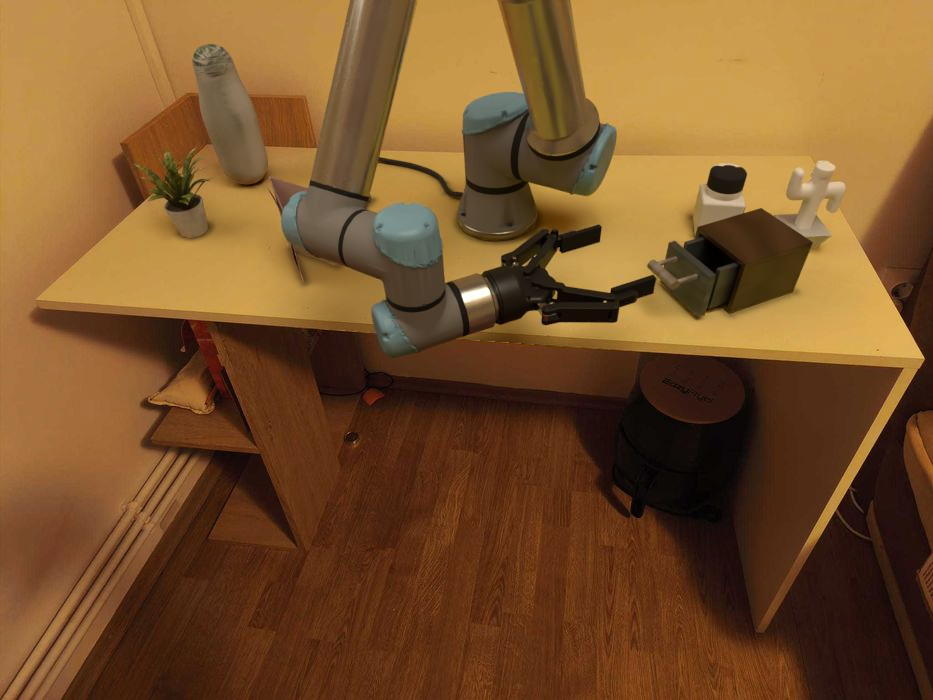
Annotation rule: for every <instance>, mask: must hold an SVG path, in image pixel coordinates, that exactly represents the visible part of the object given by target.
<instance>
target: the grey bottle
mask: <svg viewBox="0 0 933 700" xmlns="http://www.w3.org/2000/svg"><path fill="white" fill-rule="evenodd" d="M192 69H193V71H194V75H195V80H196V84H197V86H196V87H197V91H198V104H199V109H200V114H201V118H202V121H203V124H204V127H205V129H206V132H207V135H208V137H209V140H210V142H211V145H212V148H213V151H214V153H215V156H216V159H217V161H218V164H219V166H220V168H221V170H222V171H223V173H224V174H225V175H226V177H228V178H229V179H230V180H231V181H232V182H234V183H237V184H240V185H253V184H256V183H259V182H260V181H261V180H262V179H263V178H264V177H265V175H266V174H267V170H268V167H269V158H268V152H267V149H266V145H265V142H264V138H263V135H262V131H261V126H260V123H259V119H258V115H257V112H256V108H255V106H254V103H253V101H252V99H251V97H250V95H249V92H248V91H247V89H246V87H245V85H244V83H243V81H242V80H241V77H240V75H239V73H238V70H237V68H236V64H235V62H234V60H233V58H232V56H231V54H230V52H229V51H228V50H227V49H226V48H224V47H223V46H222V45H219V44H215V43H208V44H203V45H201V46H198V47H197V48H196V49H195V50H194V52H193V54H192Z"/></svg>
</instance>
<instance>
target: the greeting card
mask: <svg viewBox="0 0 933 700" xmlns="http://www.w3.org/2000/svg"><path fill="white" fill-rule="evenodd" d="M268 178H269V181H270V185H271V188H272V191H273V193H272V191H271V190H270V189H269V188H267V190H268V191H269V192H268V193H269V194H270V195H271V197H272V199H273V201H274V203H275V204H276V206H277V208H278V212H279V215H280V217H281V216H282V211H283V208H284V206H286V205H287V204H288V202H289V199H290V198H291V197H292V196H293V195H294V194H296V193H298V192H301V191H308V187H306V186H302V185H299V184H297V183H292V182H289V181H286V180H283V179H279V178H276V177H273V176H268ZM287 242H288V241H287ZM288 247H289V249H290V251H291V254H292V257H293V259H294V262H295V265H296V267H297V269H298V272H299V274H300V277H301V279H302V281H303V283H305V281H304V277H303V274H302V271H301V268H300V263H299V260H298V257H297V253H300V254H302V255H304V256H307V257H310V258H313V259H315V260H318V261H321V262H323V263H326V264H329V265H332V266H333V267H338V264H337V263H334V262H331V261H328V260H326V259H323V258H317V257H314V256H313V255H311V254H309V253H308V252H306V251H304V250H301V249H299V248H297V247H295V246H293V245H291V244H290V243H289V242H288Z"/></svg>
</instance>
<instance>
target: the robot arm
mask: <svg viewBox="0 0 933 700" xmlns="http://www.w3.org/2000/svg"><path fill="white" fill-rule="evenodd" d="M496 1H497V5H498V8H499V12H500V16H501V19H502V22H503V26H504V30H505V34H506V36H507V40H508V43H509V46H510V50H511V54H512V57H513V58H512V59H513V62H514V65H515V68H516V72H517V75H518V79H519V83H520V87H521V90H522V92H519V91H502V92H494V93H490V94H486V95H482V96H480V97H478V98H475V99H473V101H471V102H470V103H468V104H467V105H466V106H465V108H464V109H463V110H464V111H463V112H462V129H461V134H462V146H463V159H464V160H463V161H464V175H465V177H464V179H465V185H464V188H463V192H461V191H453V190H452V189H450V187H449V186H448V183H447V181H446V179H445V178H444V177H443V176H442V175H441V174H440V173H438V172H436V171H435V170H432V169H431V168H428V167H426V166H423V165H420V164H417V163H412V162H409V161H405V160H399V159H393V158H386V157H381V156H380V155H381V151H382V147H383V143H384V140H385V135H386V131H387V127H388V123H389V120H390V119H389V118H390V116H391V115H390V114H391V111H392V107H393V103H394V100H395V96H396V91H397V87H398V83H399V79H400V75H401V71H402V67H403V62H404V58H405V54H406V51H407V46H408V43H409V39H410V35H411V30H412V26H413V23H414V18H415V15H416V10H417V6H418V2H419V0H349V2H348V8H347V12H346V17H345V22H344V26H343V29H342V34H341V39H340V40H341V41H340V44H339V49H338V53H337V58H336V62H335V66H334V72H333V75H332V80H331V85H330V89H329V93H328V97H327V102H326V107H325V112H324V115H323V120H322V125H321V129H320V134H319V138H318V143H317V147H316V152H315V157H314V161H313V166H312V170H311V175H310V179H309V183H308V187H307V188H308V191H301V192H298V193H296V194H294V195H293V196H292V197H291V198H290V199H289V202H288V204H287V205H286V206H284V208H283V211H282V216H280V225H281V232H282V234H283V236H284V239H285V240H286V241H287V242H289V243H290V244H291V245H293V246H295V247H297V248H299V249H301V250H304V251H306V252H308V253H309V254H311V255H313V256H314V257H317V258H323V259H326V260H328V261H331V262H334V263H337V265H341V266H343V267H345V268H348V269H351V270H353V271H356V272H358V273H361V274H364V275H366V276H369V277H372V278H375V279H377V280H380V281H381V282H382V285H383V289H384V290H383V291H384V293H385V299H382V300H381V301H379V302H376V303H374V304H373V305H372V306H371V309H370V313H371V315H370V316H371V321H372V324H373V328H374V331H375V334H376V338H377V340H378V342H379V345H380V348H381V350H382V352H383V353H384V354H385V355H386V356H387V357H389V358H391V359H394V358H395V359H397V358H400V357H403V356H408V355H412V354H416V353H417V354H419V353H421V352H424V351H425V350H428V349H431V348H433V347H437V346H440V345H442V344H446V343H448V342H451V341H455V340H458V339H460V338H465V337H468V336H470V335H473V334H476V333H480V332H482V331H486V330H488V329H492V328H494V327H495V325H498V326H502V325H505V324H509V323H511V322H515V321H517V320H521V319H522V318H523V317H524V316H525V315H526V314H527V313H528V312H533V311H538V313H539V315H540V318H541V319H540V323H541V324H542V325H543V326H551V325H554V324H558V323H582V324H583V323H585V324H587V323H588V324H589V323H590V324H591V323H592V324H593V323H594V324H597V323H598V324H599V323H600V324H615V323H617V322H618V320H619V315H620V314H619V313H620V308H623V307H627V306H629V305H631V304H632V305H633V304H635V303H636V302H637V301H638V299H641V298H645V297H647V296H650V295H653V294H654V292H655V287H656V282H657V276H656V275H655V274H650V275H646V276H645V277H641V278H638V279H635V280H631V281H629V282H626V283H622V284H619V285H616V286H613V287H611V288H610V292H607V291H601V290H593V289H588V288H587V289H586V288H580V287H574V286H567V285H565V282H560V281H556V279H555V278H554V277H553V276H551V275H550V274H549V271H548V270H547V267H548V265H549V263H550V262H551V260H552V259H553V258H554V256H555V255H556V254H557V252H558V249H559V252H560V253H561V254H565V253H568V252H571V251H575V250H578V249H579V250H580V249H582V248H585V247H589V246H591V245H595V244H598V243H601V238H602V229H603V226H602V225H601V224H595V225H592V226H589V227H588V226H587V227H585V228H581V229H578V230H570V231H567V232H563V233H560V230H559V229H557V228H552V229H550V230H549V228H541V229H540V230H539V231H537V232H536V233H535V234H533V235H532V236H530V237H529V238H528V239H526V240H525V241H524V242H523V243H521V244H520V245H519V246H518V247H516V248H515V249H513V250H512V251H509V252H507V253H504V254H502V255H501V256H500V266H497V267H494V268H490V269H488V270H487V269H486V270H484V271H482V273H481V274H480V273H477V272H476V273H472V274H470V275H469V274H468V275H466V276H463V277H460V278H456V279H453V280H450V281H447V282H446V278H445V277H446V276H445V265H444V244H443V239H442V236H441V233H440V226H439V221H438V217H437V215H436V213H435V212H434V211H433V210H432V209H431V208H430V207H428V206H426V205H424V204H421V203H418V202H410V203H405V202H397V203H392V204H390V205H387V206H385V207H384V208H382V209H381V210H379V212H376V211H373V210H369V209H368V203H369V202H370V201H369V198H370V197H369V196H370V194H371V192H372V187H373V185H374V184H373V183H374V179H375V175H376V172H377V167H378V164H379V163H385V164H390V165H396V166H402V167H407V168H410V169H415V170H418V171H420V172H424V173H426V174H428V175H431V176H432V177H434V178H435V179H437V180H438V182H439V183H440V185H441V186H442V188H443V190H444V192H445V193H446V194H447V195H449V196H450V197H454V198H460V202H459V205H458V210H457V221H458V225H459V227H460V229H461V230H462V231H463V232H464V233H466V234H467V235H469V236H471V237H472V238H476V239H479V240H483V241H490V242H500V241H509V240H514V239H518V238H521V237H522V236H524V235H526V234H528V233H530V232H531V231H532V230H534V227H535V226H536V225H537V222H538V204H539V201H537V202H536V201H535V198H534V195H533V191H532V188H531V185H530V184H533V185H537V186H541V187H545V188H549V189H552V190H555V191H561V192H564V193H567V194H569V195H570V196H572V195H578V196H582V197H589V196H591V195H593V194H595V192H597V191H598V189H600V187H601V185H602V183H603V181H604V179H605V178H606V175H607V173H608V170H609V168H610V165H611V162H612V159H613V156H614V153H615V149H616V144H617V138H618V137H617V135H618V132H617V129H616V127H615V126H613V125H611V124H609V123H608V122H606V123H601V121H600V115H599V111H598V108H597V106H596V104H594V102H592V101H591V99H589V98H587V96H586V90H585V84H584V77H583V70H582V65H581V59H580V53H579V46H578V40H577V34H576V27H575V21H574V15H573V8H572V2H571V0H496ZM368 201H369V202H368ZM536 203H537V204H536ZM289 243H288V244H289ZM555 295H556V298H554V296H555Z"/></svg>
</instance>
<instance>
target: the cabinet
mask: <svg viewBox="0 0 933 700" xmlns="http://www.w3.org/2000/svg"><path fill="white" fill-rule="evenodd" d="M702 236H704V237H705V238H706V239H708V240H709V241H710V242H712V243H713V244H714V245H715V246H717V247H718V248H719V249H721V250H722V251H723V252H724V253H726V254H727V255H728V256H730V257H731V258H732V259H733V260H735V261H736V262H737V263H739V264H740V265H741V266H740V270H739V273H738V276H737V279H736V282H735V285H734V288H733V291H732V294H731V298H730V301H729V302H728V303H725V304H722V305H719V306H720V307H721V308H722V309H723V310H724V311H726V312H727V313H728V314H733V313H735V312H738V311H742V310H745V309H747V308H751V307H753V306H756V305H759V304H761V303H765V302H767V301H770V300H771V301H772V300H773V299H777V298H779V297H782V296H785V295H787V294H791V293H793V292H794V290H795V288H796V285H797V282H798V280H799V278H800V275H801V273H802V270H803V268H804V266H805V263H806V260H807V258H808V256H809V253H810V251H811V250H812V249H811V246H812V244H813V242H812V241H810V240H809V239H807V238H806V237H804V236H803V235H801V234H800V233H798V232H797V231H795V230H794V229H792V228H791V227H789V226H788V225H786V224H785V223H783V222H782V221H780V220H779V219H777V218H776V217H774V214H771V213H770V212H768V211H767V210H765V209H764V208H762V207H760V208H759V207H758V208H756V209H753V210H749V211H746V212H744V213H743V214H739V215H736V216H732V217H729V218H726V219H722V220H719V221H716V222H712V223H709V224H706V225H702V226H699V227H697V231H696V235H695V234H694V239H696V238H699V237H702Z"/></svg>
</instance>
